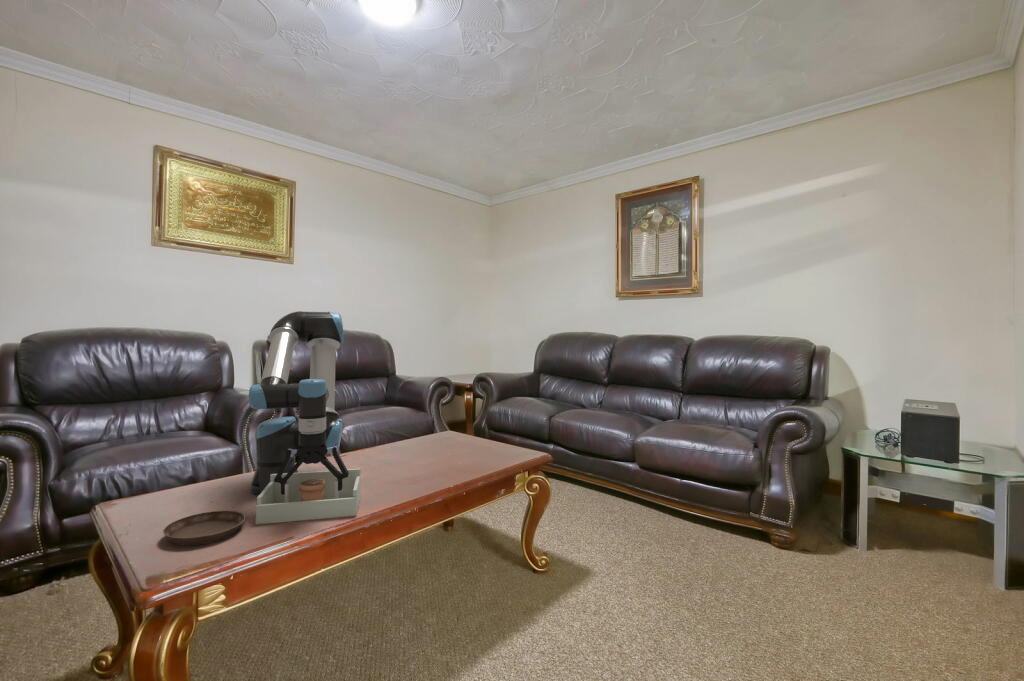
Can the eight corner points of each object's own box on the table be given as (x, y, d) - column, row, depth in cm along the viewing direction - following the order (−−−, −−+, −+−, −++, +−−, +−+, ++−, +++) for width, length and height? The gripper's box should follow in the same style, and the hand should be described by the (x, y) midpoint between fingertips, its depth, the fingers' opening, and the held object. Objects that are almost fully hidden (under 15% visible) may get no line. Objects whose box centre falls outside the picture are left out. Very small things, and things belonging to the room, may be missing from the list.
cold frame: (271, 503, 140) (271, 474, 140) (360, 496, 147) (360, 468, 146) (255, 524, 125) (255, 491, 124) (356, 515, 131) (356, 484, 131)
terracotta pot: (301, 506, 138) (301, 479, 138) (326, 504, 140) (326, 478, 140) (297, 515, 131) (297, 487, 131) (323, 512, 133) (323, 485, 133)
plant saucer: (236, 515, 131) (236, 504, 131) (252, 535, 118) (252, 523, 118) (158, 533, 119) (158, 521, 119) (167, 557, 106) (167, 544, 106)
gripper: (262, 436, 128) (262, 511, 128) (355, 432, 135) (355, 503, 135) (269, 431, 136) (269, 502, 136) (357, 427, 142) (357, 495, 142)
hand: (312, 503), depth 135 cm, fingers open, 13 cm apart
